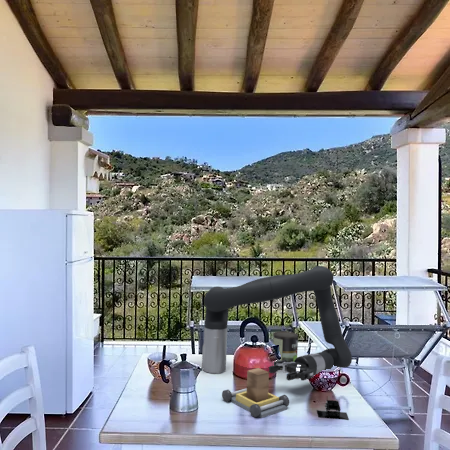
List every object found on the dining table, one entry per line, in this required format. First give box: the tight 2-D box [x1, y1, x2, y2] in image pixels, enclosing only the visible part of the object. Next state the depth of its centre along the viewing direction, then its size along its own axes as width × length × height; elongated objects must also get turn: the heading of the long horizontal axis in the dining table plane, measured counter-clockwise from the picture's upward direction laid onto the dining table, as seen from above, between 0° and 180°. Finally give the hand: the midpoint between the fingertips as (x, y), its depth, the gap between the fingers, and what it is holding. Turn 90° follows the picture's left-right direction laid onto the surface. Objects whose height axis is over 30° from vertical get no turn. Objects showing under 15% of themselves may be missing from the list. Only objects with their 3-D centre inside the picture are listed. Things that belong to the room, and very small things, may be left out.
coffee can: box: [272, 330, 299, 370], centre depth 181 cm, size 10×10×14 cm
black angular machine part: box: [316, 399, 350, 421], centre depth 137 cm, size 12×7×5 cm, turn 83°
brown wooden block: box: [246, 367, 270, 403], centre depth 143 cm, size 5×5×10 cm
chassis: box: [221, 387, 290, 419], centre depth 144 cm, size 18×14×4 cm
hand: (278, 373), depth 149 cm, fingers open, 8 cm apart
